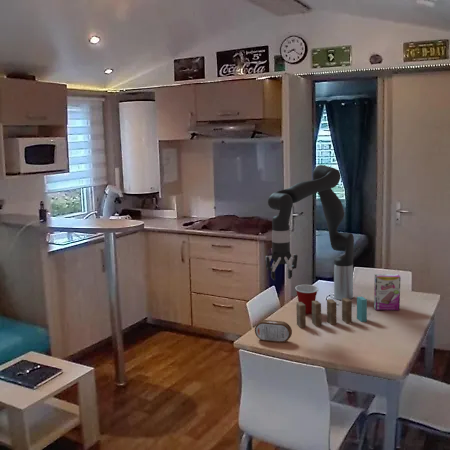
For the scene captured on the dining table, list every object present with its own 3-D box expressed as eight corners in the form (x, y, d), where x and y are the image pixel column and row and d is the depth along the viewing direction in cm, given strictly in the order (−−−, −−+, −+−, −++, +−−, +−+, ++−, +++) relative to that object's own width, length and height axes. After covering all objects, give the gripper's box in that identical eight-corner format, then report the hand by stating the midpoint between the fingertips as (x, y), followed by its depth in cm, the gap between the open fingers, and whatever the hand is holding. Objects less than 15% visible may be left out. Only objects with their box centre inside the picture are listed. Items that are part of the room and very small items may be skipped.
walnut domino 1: (300, 328, 242) (300, 305, 240) (296, 324, 247) (296, 302, 245) (305, 327, 242) (305, 305, 241) (302, 323, 247) (301, 301, 246)
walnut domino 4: (346, 323, 246) (346, 301, 244) (342, 319, 251) (342, 298, 249) (351, 323, 246) (351, 300, 245) (347, 319, 251) (347, 297, 249)
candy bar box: (375, 310, 262) (375, 276, 259) (373, 307, 266) (374, 273, 264) (400, 310, 260) (400, 276, 258) (398, 307, 265) (398, 273, 263)
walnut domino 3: (331, 325, 244) (331, 302, 243) (327, 321, 249) (326, 299, 248) (336, 324, 245) (336, 302, 243) (332, 320, 250) (332, 299, 248)
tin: (292, 341, 227) (291, 321, 226) (290, 344, 224) (290, 323, 223) (256, 338, 232) (255, 318, 231) (254, 340, 229) (253, 321, 228)
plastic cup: (303, 317, 256) (303, 291, 254) (291, 311, 265) (290, 286, 263) (323, 313, 260) (323, 288, 258) (310, 307, 270) (310, 283, 268)
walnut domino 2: (315, 326, 243) (315, 304, 242) (312, 322, 248) (311, 300, 247) (321, 326, 244) (320, 303, 242) (317, 322, 249) (317, 300, 247)
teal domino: (361, 322, 247) (361, 300, 245) (356, 318, 252) (356, 296, 250) (366, 321, 247) (366, 299, 246) (361, 318, 252) (361, 296, 251)
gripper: (294, 237, 242) (295, 275, 245) (262, 240, 239) (263, 278, 242) (300, 240, 235) (300, 279, 237) (266, 243, 232) (267, 282, 235)
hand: (281, 278), depth 240 cm, fingers open, 6 cm apart
